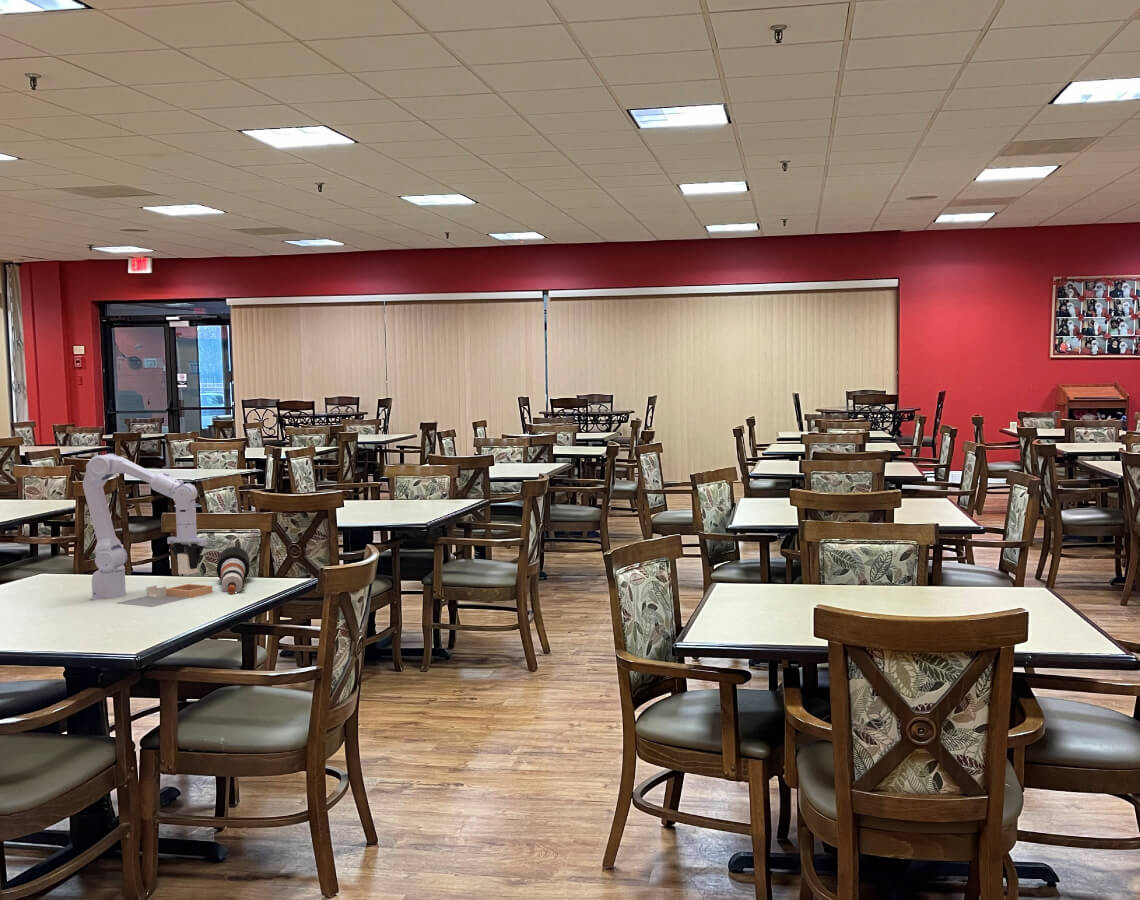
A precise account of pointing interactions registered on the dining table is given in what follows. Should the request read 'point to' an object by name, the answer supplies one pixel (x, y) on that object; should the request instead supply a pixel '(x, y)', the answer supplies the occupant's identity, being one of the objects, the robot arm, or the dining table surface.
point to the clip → (156, 592)
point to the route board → (152, 601)
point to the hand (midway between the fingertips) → (188, 568)
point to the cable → (233, 569)
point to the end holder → (189, 590)
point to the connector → (185, 564)
